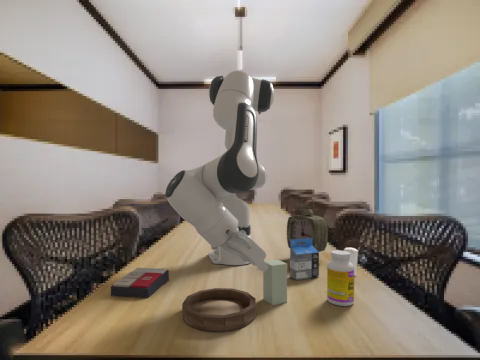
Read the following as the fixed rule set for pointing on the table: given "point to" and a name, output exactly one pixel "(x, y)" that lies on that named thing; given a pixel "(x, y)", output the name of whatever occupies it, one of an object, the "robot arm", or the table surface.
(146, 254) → the table surface
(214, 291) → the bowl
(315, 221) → the tabletop clock
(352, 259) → the milkshake
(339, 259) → the supplement bottle
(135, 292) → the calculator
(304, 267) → the label tape cartridge
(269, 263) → the block
